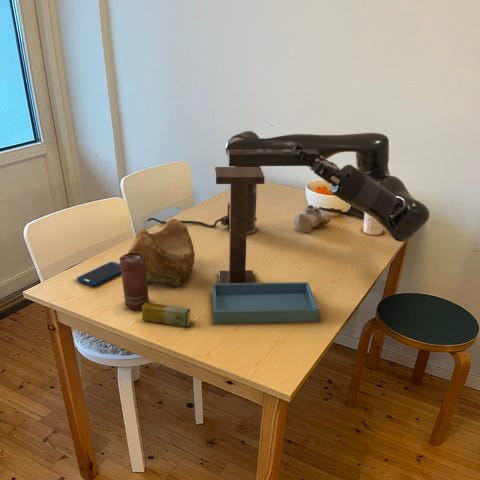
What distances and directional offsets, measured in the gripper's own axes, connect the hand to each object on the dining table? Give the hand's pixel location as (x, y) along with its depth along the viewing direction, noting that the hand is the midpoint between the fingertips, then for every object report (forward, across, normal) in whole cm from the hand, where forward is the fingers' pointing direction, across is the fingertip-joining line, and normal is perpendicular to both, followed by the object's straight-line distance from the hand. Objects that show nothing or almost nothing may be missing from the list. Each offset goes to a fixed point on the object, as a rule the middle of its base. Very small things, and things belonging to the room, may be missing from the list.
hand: (296, 151), depth 106 cm
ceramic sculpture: (-36, -55, +26) cm, 71 cm away
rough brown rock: (+7, -18, +51) cm, 54 cm away
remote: (+3, 0, +5) cm, 6 cm away
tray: (-15, 0, +38) cm, 41 cm away
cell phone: (+24, -20, +60) cm, 68 cm away
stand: (-10, -14, +41) cm, 44 cm away
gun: (-49, -70, +19) cm, 87 cm away
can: (+14, -3, +55) cm, 56 cm away
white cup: (-55, -50, +15) cm, 76 cm away
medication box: (+7, +6, +50) cm, 51 cm away
